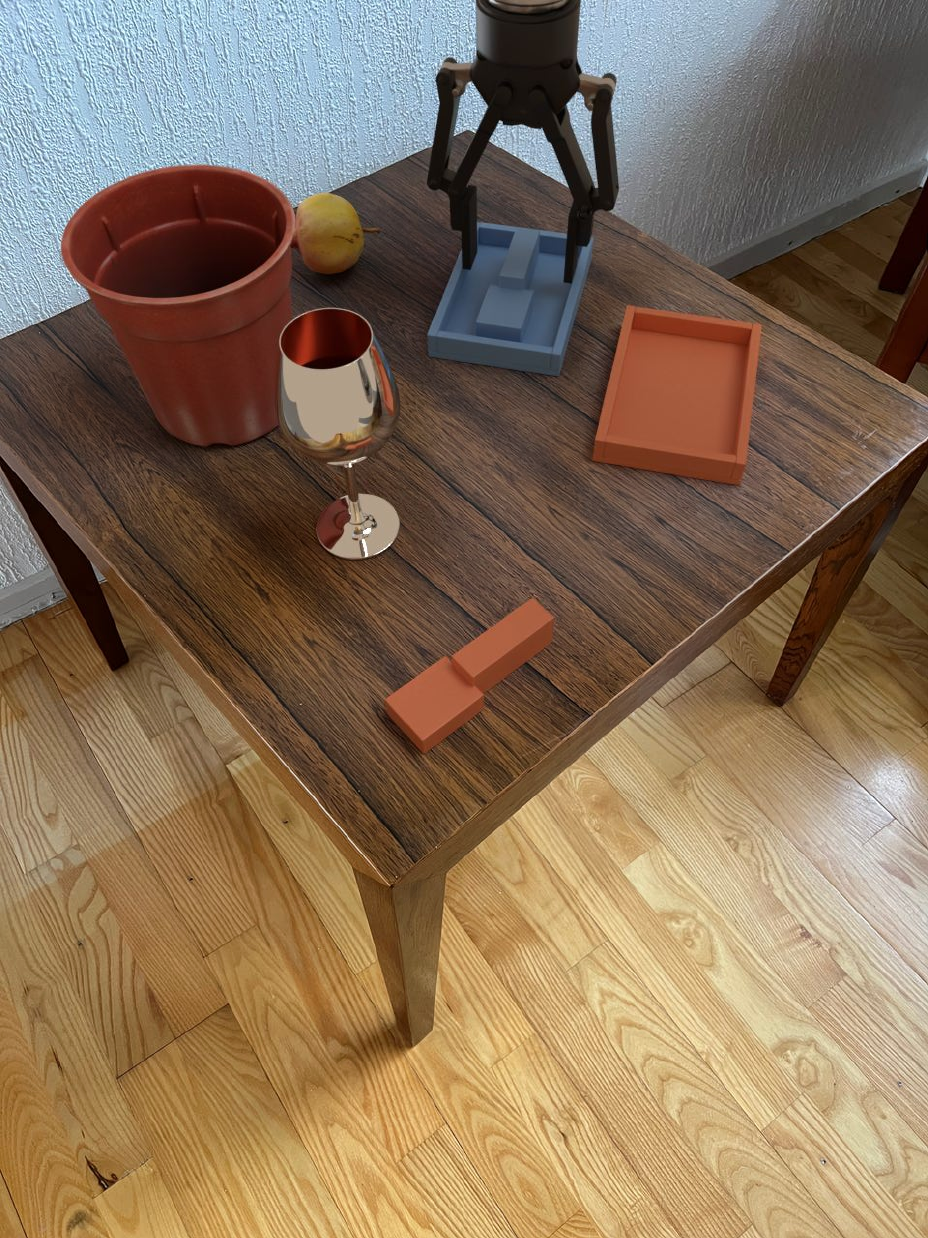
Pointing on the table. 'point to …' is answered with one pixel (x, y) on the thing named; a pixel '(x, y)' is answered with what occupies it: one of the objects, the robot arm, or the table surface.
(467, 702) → the red offset step block
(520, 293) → the blue stepped block
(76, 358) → the table surface
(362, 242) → the fruit
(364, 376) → the wineglass
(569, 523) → the table surface
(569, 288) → the blue tray
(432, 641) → the table surface
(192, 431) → the flower pot
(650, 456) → the red tray
